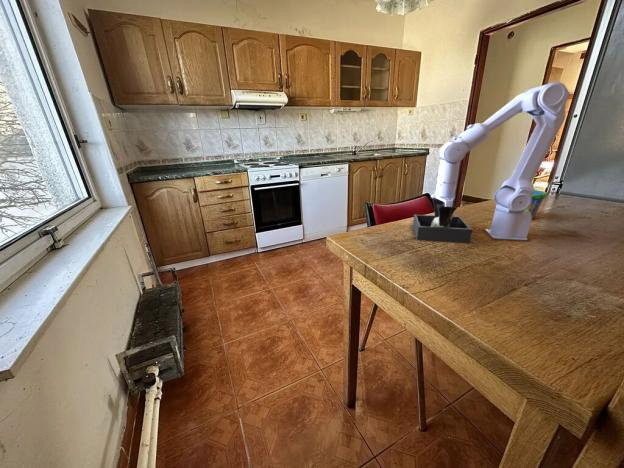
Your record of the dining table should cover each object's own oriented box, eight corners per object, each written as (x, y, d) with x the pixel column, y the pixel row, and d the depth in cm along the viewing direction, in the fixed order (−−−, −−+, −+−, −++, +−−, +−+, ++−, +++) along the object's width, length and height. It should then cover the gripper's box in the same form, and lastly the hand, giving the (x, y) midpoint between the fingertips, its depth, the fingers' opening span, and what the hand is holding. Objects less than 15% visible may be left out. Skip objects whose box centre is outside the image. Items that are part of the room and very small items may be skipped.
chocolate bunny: (431, 232, 86) (437, 203, 82) (430, 225, 93) (435, 198, 89) (449, 234, 84) (456, 205, 80) (446, 227, 91) (453, 199, 87)
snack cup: (509, 210, 111) (515, 186, 107) (541, 214, 104) (549, 189, 100) (501, 218, 101) (507, 193, 97) (535, 224, 94) (543, 197, 90)
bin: (458, 228, 93) (460, 216, 91) (469, 243, 81) (472, 229, 79) (412, 226, 97) (414, 214, 95) (416, 239, 85) (418, 226, 83)
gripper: (429, 178, 90) (424, 215, 95) (437, 186, 77) (431, 228, 82) (451, 178, 88) (445, 215, 93) (463, 186, 75) (455, 229, 80)
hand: (440, 221), depth 87 cm, fingers closed on chocolate bunny, 7 cm apart
